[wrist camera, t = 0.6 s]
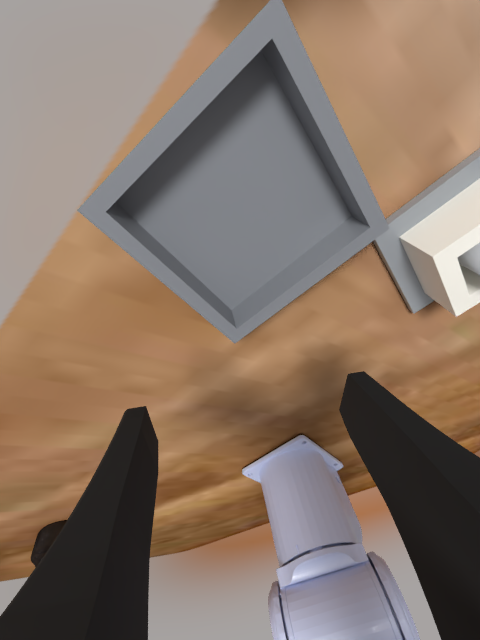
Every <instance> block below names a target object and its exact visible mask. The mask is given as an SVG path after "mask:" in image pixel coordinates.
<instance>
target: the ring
mask: <svg viewBox="0 0 480 640" xmlns="http://www.w3.org/2000/svg"><path fill="white" fill-rule="evenodd" d="M399 238H400V240H401V243H402V245H403V247H404V249H405V251H406V254H407V256H408V258H409V260H410V262H411V264H412V267H413V269H414V271H415V273H416V275H417V277H418V280H419V282H420V284H421V286H422V288H423V290H424V293H425V294H427V295H428V296H429V297H431V298H432V299H433V300H435V301H436V302H437V303H439V304H440V305H441V306H443V307H444V308H445V309H447V310H448V311H449V312H451V313H452V314H453V315H455V316H456V317H457V316H459V315H460V314H462V313H463V312H465V311H467V310H468V309H470V308H471V307H473V306H475V305H476V304H478V303H480V275H478V274H477V273H475V272H473V271H471V270H469V269H468V268H466V267H464V266H462V265H460V264H459V262H458V259H457V258H458V257H459V256H460V255H462V254H463V253H465V252H466V251H468V250H469V249H471V248H472V247H474V246H475V245H477V244H478V243H480V179H478V180H477V181H475V182H474V183H473V184H471V185H470V186H469V187H467V188H466V189H464V190H463V191H462V192H460V193H459V194H458V195H456V196H455V197H453V198H452V199H451V200H449V201H448V202H447V203H445V204H444V205H442V206H441V207H440V208H438V209H437V210H436V211H434V212H433V213H431V214H430V215H429V216H427V217H426V218H425V219H423V220H422V221H420V222H419V223H418V224H416V225H415V226H414V227H412V228H411V229H409V230H408V231H407V232H405V233H404V234H403V235H401V236H400V237H399Z"/></svg>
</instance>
